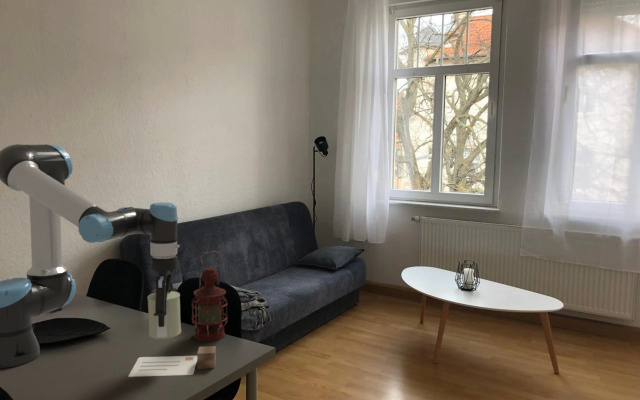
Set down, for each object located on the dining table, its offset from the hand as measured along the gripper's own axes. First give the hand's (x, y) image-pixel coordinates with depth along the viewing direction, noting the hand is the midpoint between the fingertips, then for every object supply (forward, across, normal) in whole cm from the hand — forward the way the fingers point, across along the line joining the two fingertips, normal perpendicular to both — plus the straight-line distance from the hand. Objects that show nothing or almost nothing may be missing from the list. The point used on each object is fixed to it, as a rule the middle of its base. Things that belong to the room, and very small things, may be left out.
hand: (165, 330), depth 148 cm
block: (+11, 0, -12) cm, 17 cm away
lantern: (+11, +23, -11) cm, 28 cm away
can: (+1, 0, 0) cm, 1 cm away
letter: (+11, 0, 0) cm, 11 cm away
